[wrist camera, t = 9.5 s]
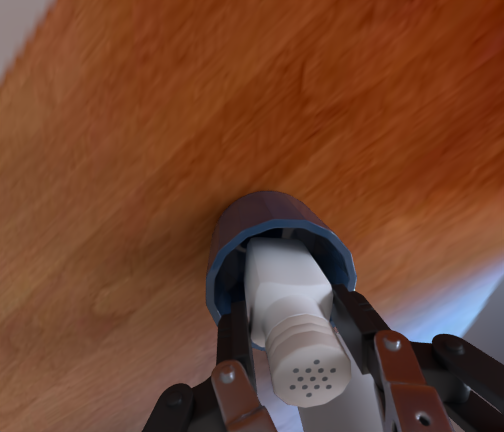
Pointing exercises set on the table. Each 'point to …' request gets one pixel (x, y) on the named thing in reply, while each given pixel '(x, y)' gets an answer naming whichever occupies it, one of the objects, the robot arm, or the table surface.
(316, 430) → the can
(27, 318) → the table surface
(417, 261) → the table surface
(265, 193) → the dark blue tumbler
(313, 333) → the salt shaker
